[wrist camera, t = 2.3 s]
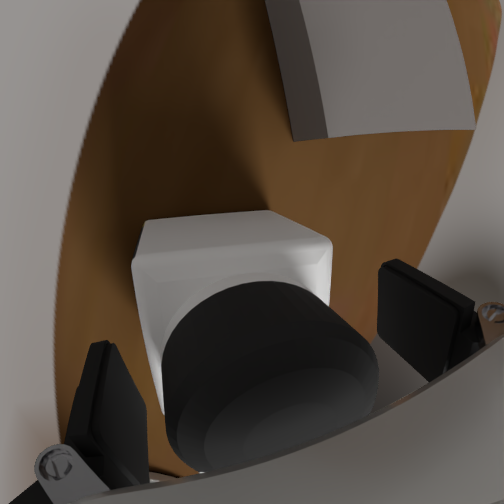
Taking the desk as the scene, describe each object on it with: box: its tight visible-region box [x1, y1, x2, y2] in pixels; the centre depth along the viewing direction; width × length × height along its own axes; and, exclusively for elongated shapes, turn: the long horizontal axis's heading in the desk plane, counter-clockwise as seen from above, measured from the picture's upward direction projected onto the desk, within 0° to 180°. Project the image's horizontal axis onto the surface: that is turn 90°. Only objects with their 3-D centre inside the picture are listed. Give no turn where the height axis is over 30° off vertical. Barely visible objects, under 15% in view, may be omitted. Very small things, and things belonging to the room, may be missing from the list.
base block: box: [265, 0, 476, 142], centre depth 14 cm, size 13×12×4 cm
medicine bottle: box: [131, 210, 379, 473], centre depth 12 cm, size 7×7×12 cm
